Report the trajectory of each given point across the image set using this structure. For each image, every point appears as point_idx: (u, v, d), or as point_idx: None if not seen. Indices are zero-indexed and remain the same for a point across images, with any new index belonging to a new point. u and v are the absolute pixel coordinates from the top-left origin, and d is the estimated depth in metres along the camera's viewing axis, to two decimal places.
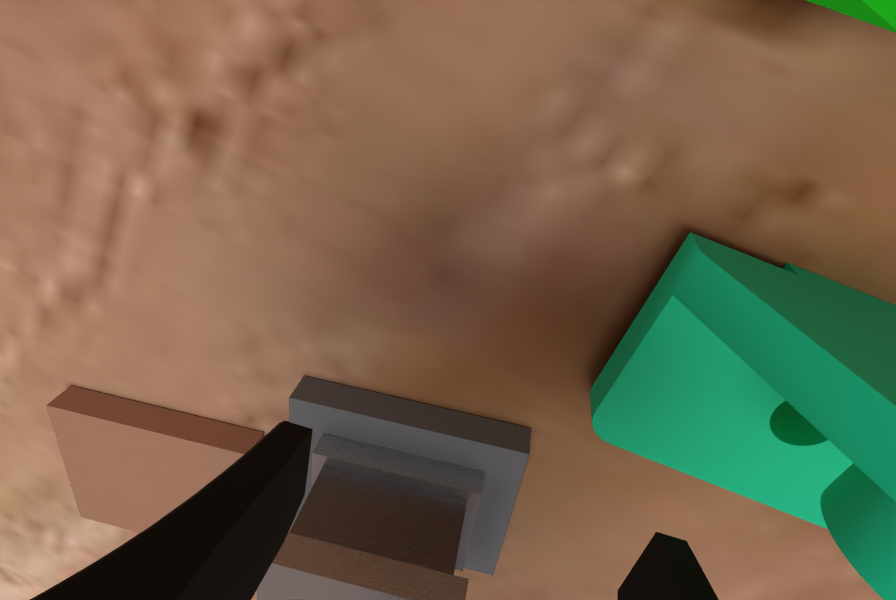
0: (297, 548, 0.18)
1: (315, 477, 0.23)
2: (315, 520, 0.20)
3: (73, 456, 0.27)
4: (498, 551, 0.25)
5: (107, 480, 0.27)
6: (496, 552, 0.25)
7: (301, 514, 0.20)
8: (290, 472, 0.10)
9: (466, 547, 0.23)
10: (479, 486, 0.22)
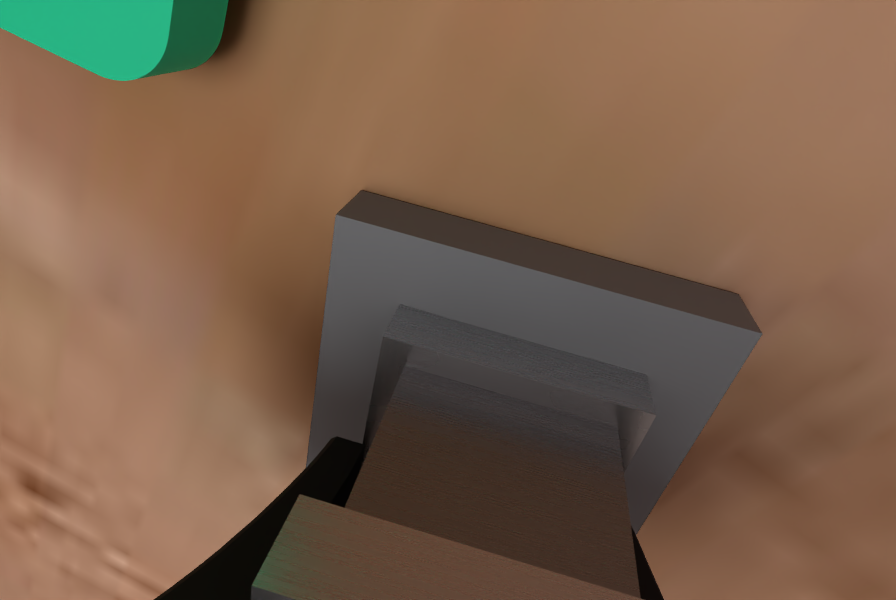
0: None
1: None
2: None
3: None
4: (663, 309, 0.10)
5: None
6: (667, 314, 0.10)
7: None
8: (346, 489, 0.10)
9: (563, 392, 0.10)
10: None
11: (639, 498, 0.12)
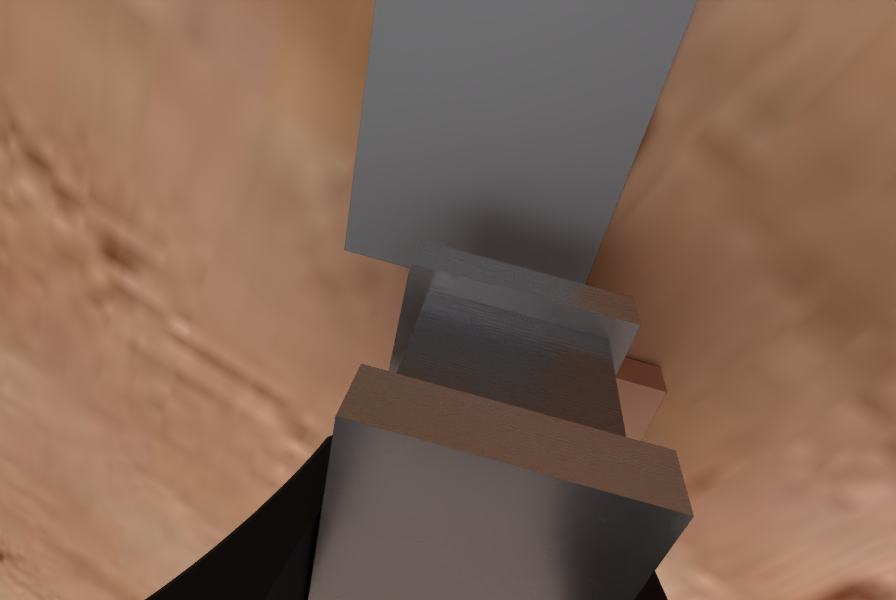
0: None
1: None
2: None
3: None
4: None
5: None
6: None
7: None
8: None
9: (563, 307, 0.11)
10: None
11: (622, 154, 0.15)
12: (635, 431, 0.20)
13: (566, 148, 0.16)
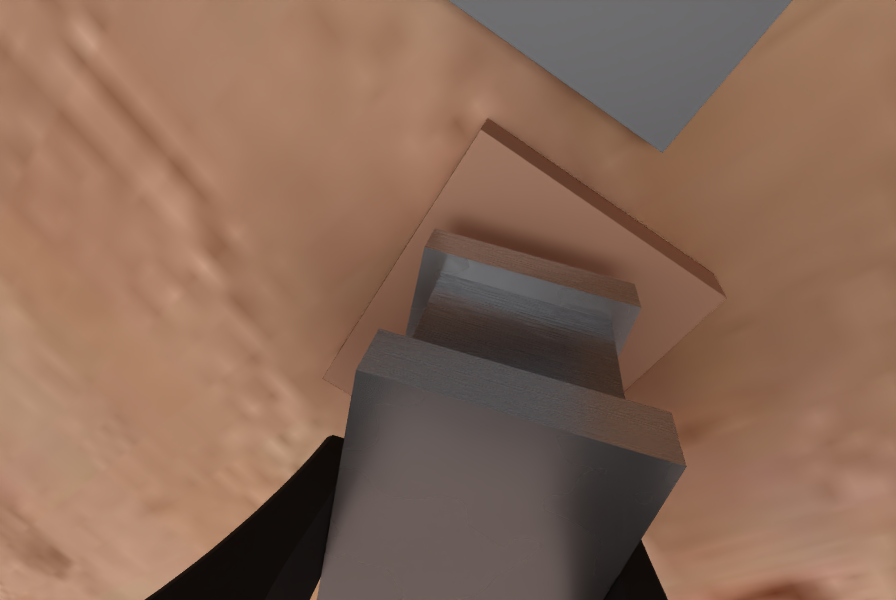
0: None
1: None
2: None
3: None
4: None
5: None
6: None
7: None
8: None
9: (568, 290, 0.12)
10: None
11: None
12: (663, 340, 0.16)
13: None
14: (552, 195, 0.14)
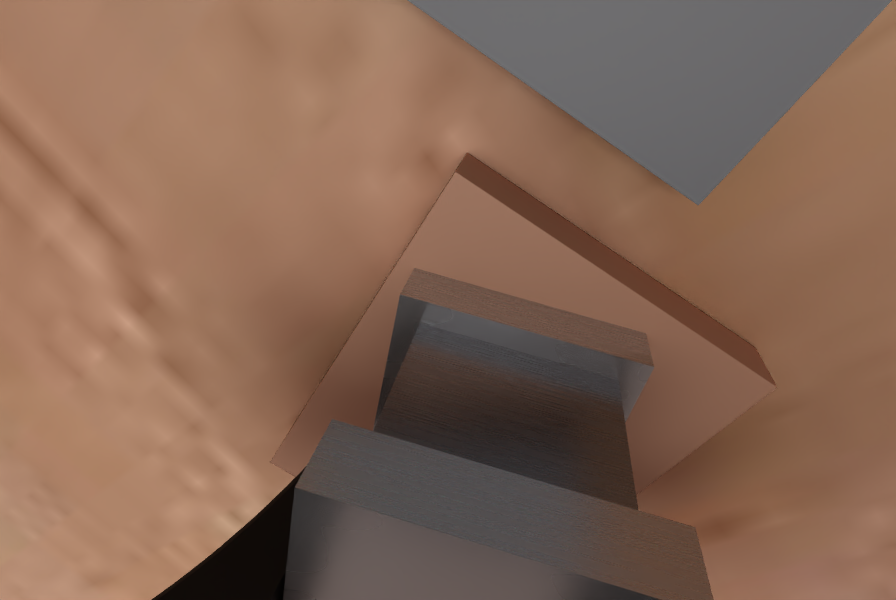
0: None
1: None
2: None
3: None
4: None
5: None
6: None
7: None
8: None
9: (568, 346, 0.10)
10: None
11: None
12: (692, 435, 0.12)
13: None
14: (550, 257, 0.11)
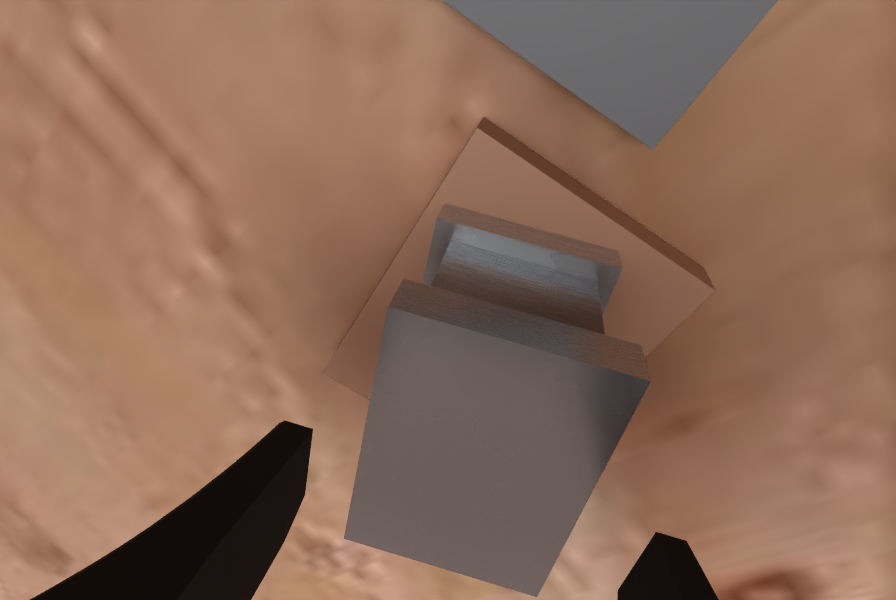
0: None
1: None
2: None
3: None
4: None
5: None
6: None
7: None
8: (290, 472, 0.10)
9: (560, 254, 0.14)
10: None
11: None
12: (655, 333, 0.16)
13: None
14: (547, 192, 0.15)
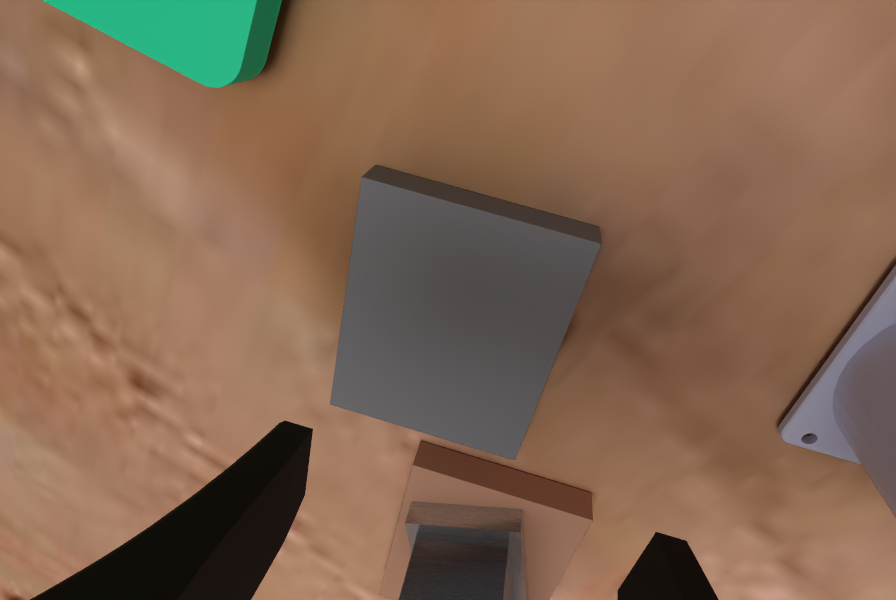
0: None
1: None
2: None
3: None
4: (546, 230, 0.17)
5: None
6: (549, 233, 0.17)
7: None
8: (290, 472, 0.10)
9: (481, 530, 0.23)
10: None
11: (545, 355, 0.20)
12: (569, 546, 0.24)
13: (502, 348, 0.20)
14: (466, 487, 0.24)
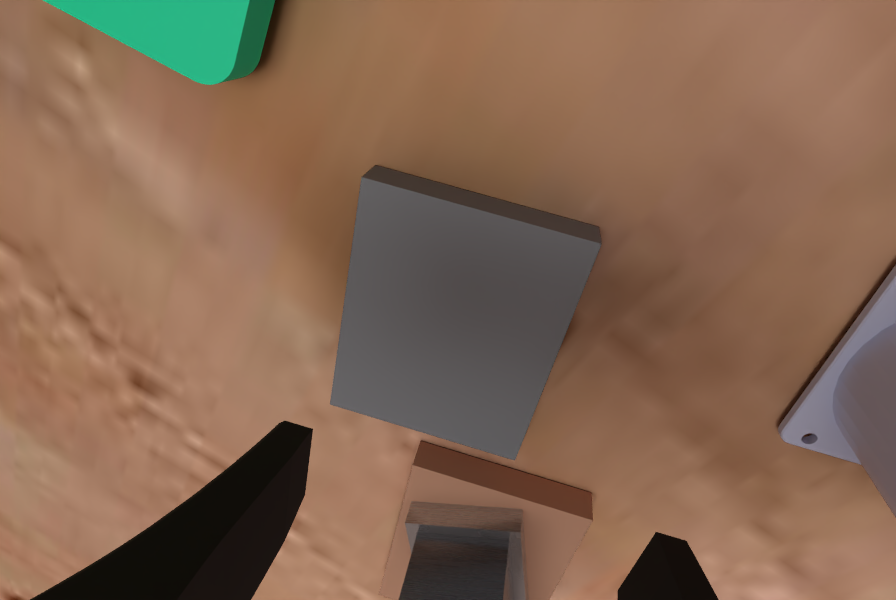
0: None
1: None
2: None
3: None
4: (546, 230, 0.17)
5: None
6: (549, 233, 0.17)
7: None
8: (290, 472, 0.10)
9: (481, 530, 0.23)
10: None
11: (545, 355, 0.20)
12: (569, 546, 0.24)
13: (502, 348, 0.20)
14: (466, 487, 0.24)
